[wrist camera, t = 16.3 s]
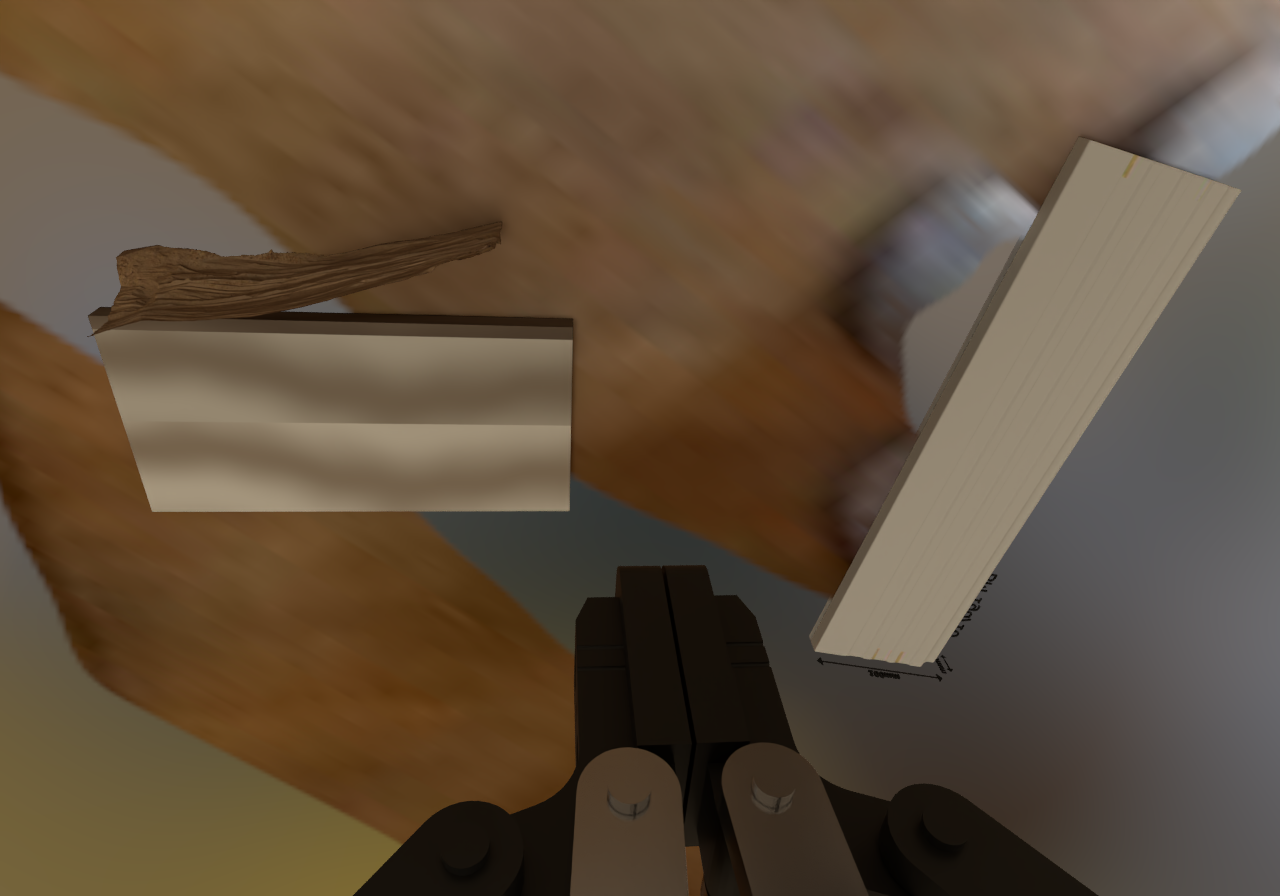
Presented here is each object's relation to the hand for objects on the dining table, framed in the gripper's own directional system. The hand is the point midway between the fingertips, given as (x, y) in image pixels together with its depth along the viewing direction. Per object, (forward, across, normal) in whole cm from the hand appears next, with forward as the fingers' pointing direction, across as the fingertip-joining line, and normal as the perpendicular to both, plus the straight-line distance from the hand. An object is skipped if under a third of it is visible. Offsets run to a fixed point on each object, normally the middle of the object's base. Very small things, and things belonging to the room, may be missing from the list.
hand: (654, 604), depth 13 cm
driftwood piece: (+23, +12, +1) cm, 26 cm away
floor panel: (+23, +11, +9) cm, 27 cm away
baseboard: (+24, -22, +11) cm, 34 cm away
